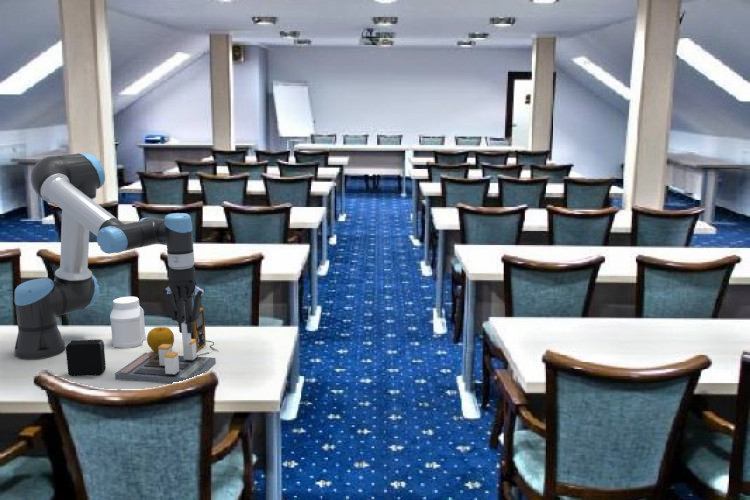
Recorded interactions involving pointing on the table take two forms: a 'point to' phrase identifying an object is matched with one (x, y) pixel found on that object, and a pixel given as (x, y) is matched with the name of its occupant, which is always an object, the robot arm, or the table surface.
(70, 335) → the table surface
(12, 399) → the table surface
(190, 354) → the breaker far
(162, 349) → the block
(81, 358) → the electronic device
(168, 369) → the breaker near
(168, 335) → the apple
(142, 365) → the panel
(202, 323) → the multimeter
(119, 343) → the jar
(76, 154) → the robot arm
